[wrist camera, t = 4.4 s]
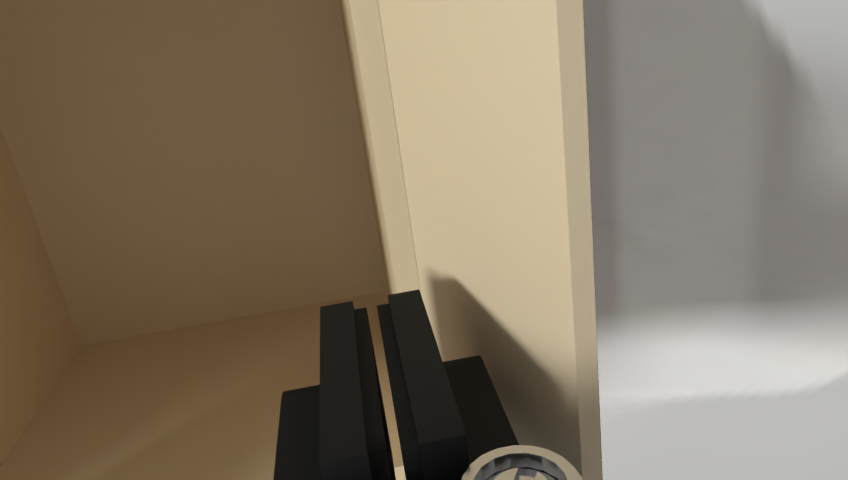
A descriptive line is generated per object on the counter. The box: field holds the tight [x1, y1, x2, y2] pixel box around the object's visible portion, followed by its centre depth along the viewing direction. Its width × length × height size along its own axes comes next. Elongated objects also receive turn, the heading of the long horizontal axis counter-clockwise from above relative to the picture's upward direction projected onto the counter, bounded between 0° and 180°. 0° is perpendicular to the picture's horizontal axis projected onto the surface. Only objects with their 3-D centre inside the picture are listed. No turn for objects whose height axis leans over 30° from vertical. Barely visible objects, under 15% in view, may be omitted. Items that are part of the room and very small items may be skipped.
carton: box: [0, 0, 421, 480], centre depth 17 cm, size 16×12×10 cm
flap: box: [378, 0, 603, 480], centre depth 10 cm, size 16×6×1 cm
